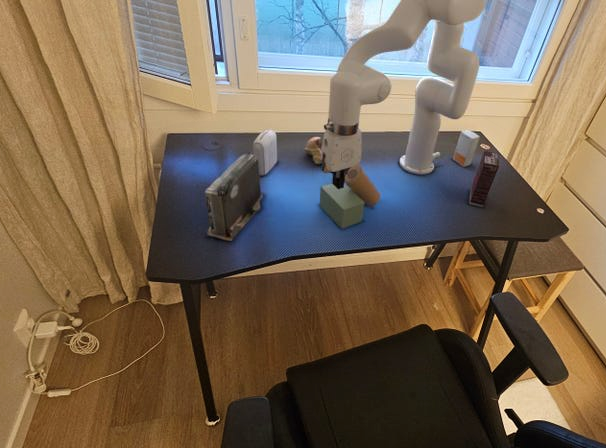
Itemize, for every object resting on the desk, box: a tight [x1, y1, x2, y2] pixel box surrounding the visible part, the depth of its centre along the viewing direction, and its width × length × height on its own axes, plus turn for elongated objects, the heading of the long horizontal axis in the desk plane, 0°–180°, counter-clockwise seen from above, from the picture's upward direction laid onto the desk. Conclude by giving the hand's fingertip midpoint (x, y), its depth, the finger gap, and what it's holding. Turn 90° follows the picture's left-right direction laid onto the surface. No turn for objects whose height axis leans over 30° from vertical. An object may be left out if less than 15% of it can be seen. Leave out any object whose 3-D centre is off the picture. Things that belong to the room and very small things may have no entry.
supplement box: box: [468, 150, 500, 208], centre depth 128 cm, size 9×5×16 cm, turn 170°
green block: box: [319, 182, 365, 230], centre depth 114 cm, size 7×12×7 cm, turn 39°
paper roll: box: [344, 164, 381, 208], centre depth 115 cm, size 13×6×15 cm, turn 129°
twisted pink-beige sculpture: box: [303, 136, 323, 165], centre depth 135 cm, size 9×10×10 cm
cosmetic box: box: [452, 129, 481, 168], centre depth 146 cm, size 6×4×12 cm
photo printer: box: [252, 129, 278, 176], centre depth 125 cm, size 10×4×12 cm, turn 169°
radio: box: [204, 152, 263, 242], centre depth 105 cm, size 23×9×15 cm, turn 164°
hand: (338, 186), depth 109 cm, fingers closed
